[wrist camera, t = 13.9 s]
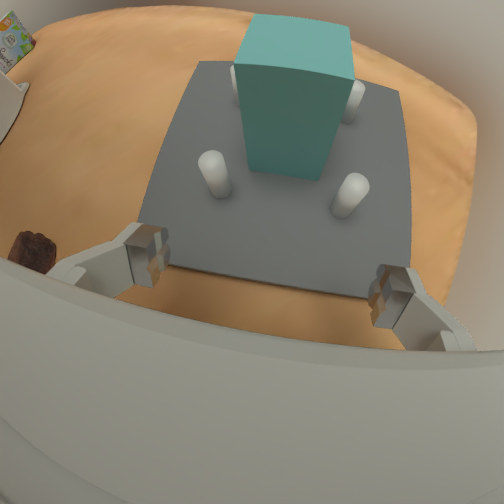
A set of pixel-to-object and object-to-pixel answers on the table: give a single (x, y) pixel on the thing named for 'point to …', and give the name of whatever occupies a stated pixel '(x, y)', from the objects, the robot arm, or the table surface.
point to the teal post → (292, 92)
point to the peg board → (283, 194)
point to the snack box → (13, 41)
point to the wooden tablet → (33, 252)
